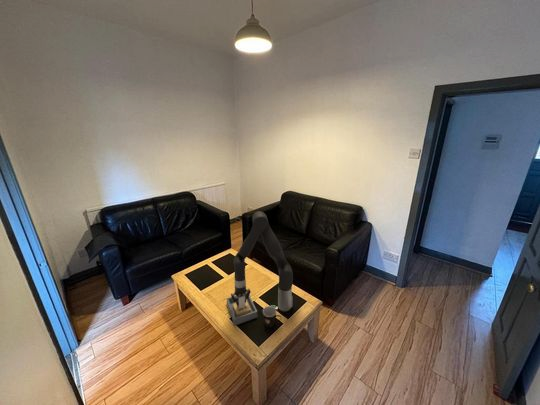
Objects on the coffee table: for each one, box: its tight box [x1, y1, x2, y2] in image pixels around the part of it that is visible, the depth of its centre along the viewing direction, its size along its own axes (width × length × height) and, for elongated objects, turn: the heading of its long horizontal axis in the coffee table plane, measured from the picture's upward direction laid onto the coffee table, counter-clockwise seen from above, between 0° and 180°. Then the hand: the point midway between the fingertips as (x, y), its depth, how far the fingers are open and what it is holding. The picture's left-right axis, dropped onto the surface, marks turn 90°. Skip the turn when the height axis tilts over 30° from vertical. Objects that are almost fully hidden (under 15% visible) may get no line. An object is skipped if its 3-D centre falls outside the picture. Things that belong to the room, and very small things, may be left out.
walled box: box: [226, 292, 259, 326], centre depth 152 cm, size 16×20×5 cm
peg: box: [238, 296, 245, 309], centre depth 150 cm, size 4×4×9 cm
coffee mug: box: [262, 305, 282, 328], centre depth 140 cm, size 12×9×10 cm
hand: (241, 304), depth 151 cm, fingers closed on peg, 4 cm apart
